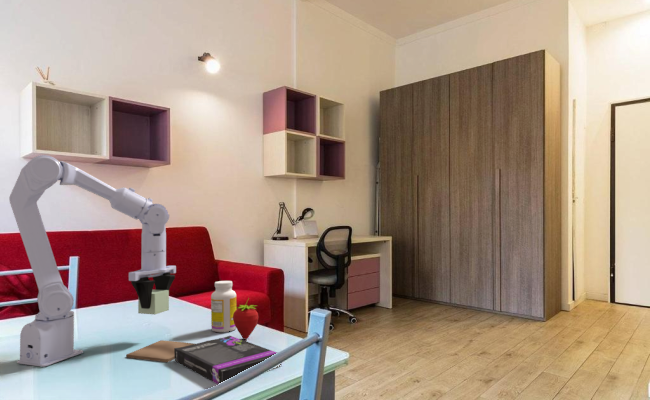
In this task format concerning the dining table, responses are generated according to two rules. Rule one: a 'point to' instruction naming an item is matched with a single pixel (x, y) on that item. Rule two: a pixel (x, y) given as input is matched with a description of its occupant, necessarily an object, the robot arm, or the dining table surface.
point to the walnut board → (158, 351)
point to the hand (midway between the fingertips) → (153, 305)
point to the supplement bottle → (223, 307)
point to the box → (221, 357)
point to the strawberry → (245, 319)
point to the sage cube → (156, 302)
